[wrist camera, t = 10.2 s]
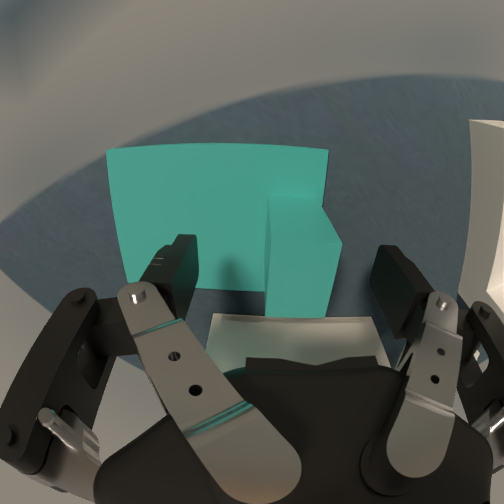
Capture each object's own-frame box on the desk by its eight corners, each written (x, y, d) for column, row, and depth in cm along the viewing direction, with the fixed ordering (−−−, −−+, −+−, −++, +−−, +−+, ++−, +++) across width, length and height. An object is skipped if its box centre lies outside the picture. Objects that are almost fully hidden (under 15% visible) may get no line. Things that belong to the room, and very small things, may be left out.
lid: (325, 148, 13) (364, 173, 8) (306, 287, 17) (320, 356, 12) (111, 148, 13) (47, 174, 8) (131, 277, 17) (95, 335, 12)
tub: (371, 316, 18) (392, 371, 13) (342, 380, 22) (352, 427, 17) (213, 313, 18) (201, 373, 13) (219, 379, 22) (212, 428, 17)
